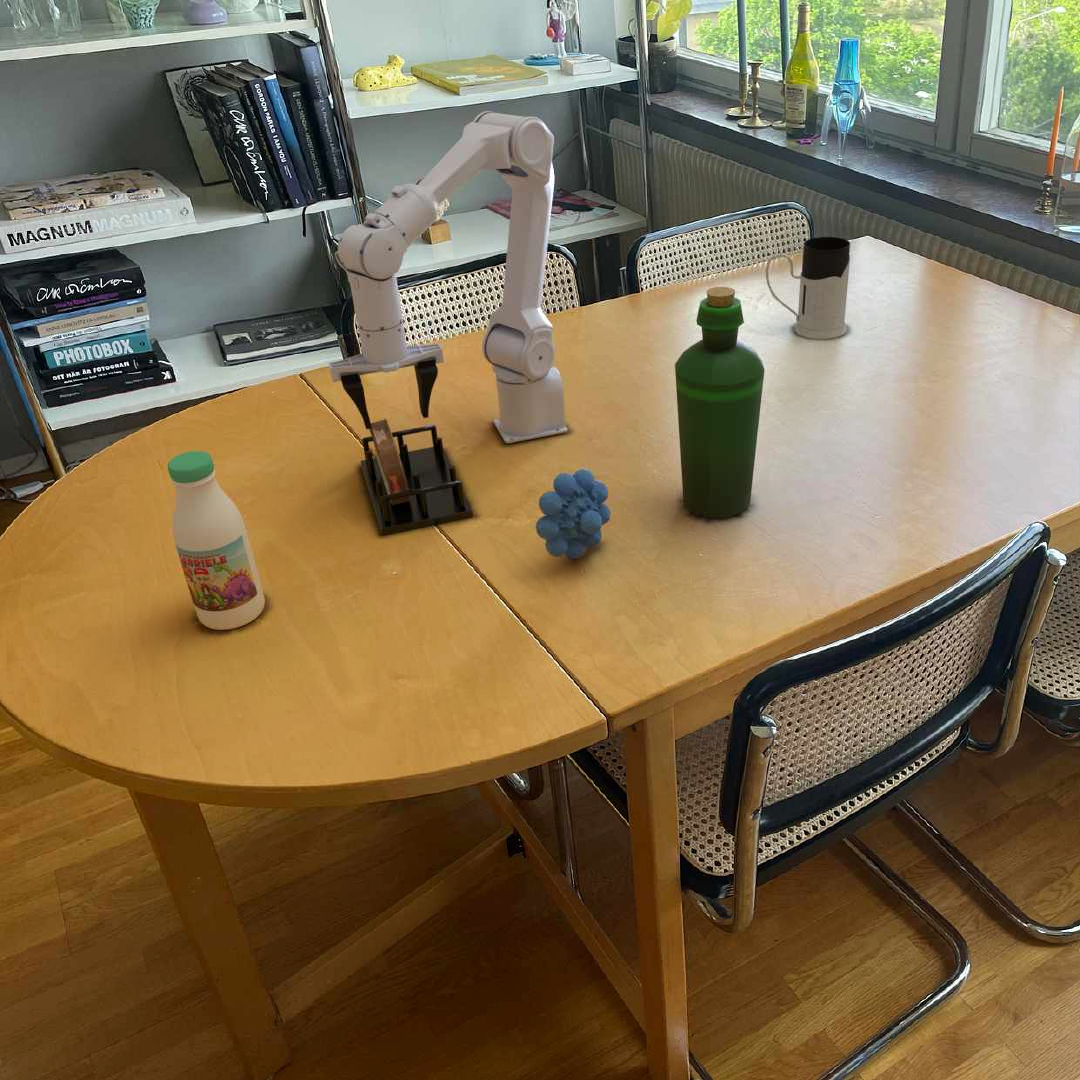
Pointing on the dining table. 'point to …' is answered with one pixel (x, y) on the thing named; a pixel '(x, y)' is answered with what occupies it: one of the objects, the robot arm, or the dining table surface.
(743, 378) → the bottle
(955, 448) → the dining table surface
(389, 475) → the tin
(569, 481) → the grapes
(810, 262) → the glass holder
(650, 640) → the dining table surface
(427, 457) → the rack
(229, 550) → the milk bottle
